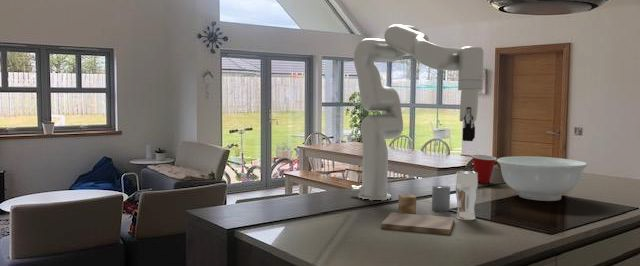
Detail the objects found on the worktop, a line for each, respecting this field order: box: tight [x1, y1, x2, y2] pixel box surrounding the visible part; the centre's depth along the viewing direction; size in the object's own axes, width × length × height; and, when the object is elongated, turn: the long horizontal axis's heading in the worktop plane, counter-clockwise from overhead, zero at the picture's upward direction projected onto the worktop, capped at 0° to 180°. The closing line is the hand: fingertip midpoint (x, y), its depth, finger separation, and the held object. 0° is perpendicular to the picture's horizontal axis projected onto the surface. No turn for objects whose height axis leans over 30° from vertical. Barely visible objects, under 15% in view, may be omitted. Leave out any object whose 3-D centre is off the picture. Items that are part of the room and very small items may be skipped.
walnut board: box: [380, 212, 455, 235], centre depth 172 cm, size 20×16×2 cm
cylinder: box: [431, 184, 451, 213], centre depth 194 cm, size 6×6×8 cm
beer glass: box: [455, 170, 479, 221], centre depth 181 cm, size 7×7×15 cm
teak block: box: [397, 193, 417, 214], centre depth 188 cm, size 5×5×6 cm
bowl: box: [496, 155, 588, 202], centre depth 218 cm, size 32×32×15 cm
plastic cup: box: [471, 154, 498, 184], centre depth 252 cm, size 11×11×12 cm
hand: (468, 139), depth 180 cm, fingers open, 9 cm apart
